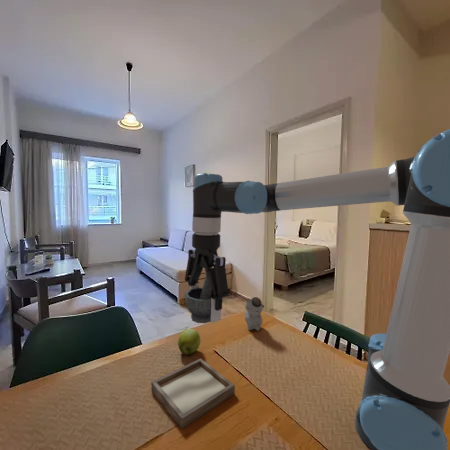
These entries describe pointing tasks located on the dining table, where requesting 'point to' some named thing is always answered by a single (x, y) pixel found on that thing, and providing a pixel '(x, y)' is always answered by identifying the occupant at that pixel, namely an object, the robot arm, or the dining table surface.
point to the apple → (189, 341)
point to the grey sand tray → (192, 391)
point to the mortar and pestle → (200, 302)
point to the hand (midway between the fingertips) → (204, 313)
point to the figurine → (253, 313)
